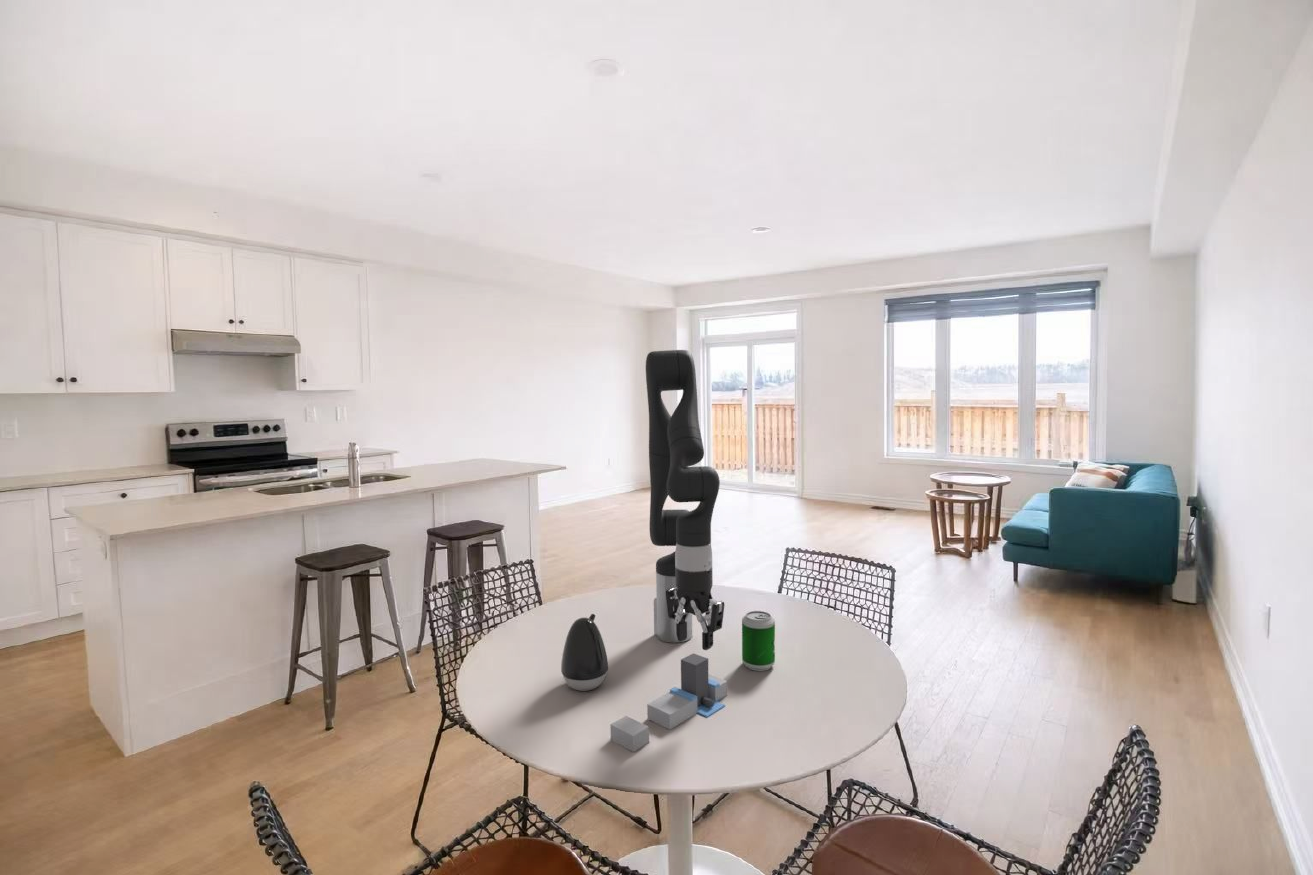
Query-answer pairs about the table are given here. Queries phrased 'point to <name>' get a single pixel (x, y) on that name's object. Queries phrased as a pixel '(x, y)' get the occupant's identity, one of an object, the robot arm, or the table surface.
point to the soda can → (758, 640)
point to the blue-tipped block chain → (667, 713)
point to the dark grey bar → (696, 678)
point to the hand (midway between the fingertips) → (694, 644)
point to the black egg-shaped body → (584, 656)
